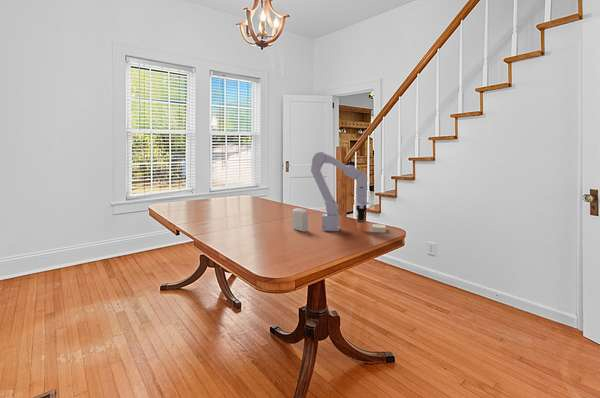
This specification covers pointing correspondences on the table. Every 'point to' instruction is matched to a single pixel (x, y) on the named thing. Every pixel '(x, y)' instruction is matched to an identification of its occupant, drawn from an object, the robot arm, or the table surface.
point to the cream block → (378, 228)
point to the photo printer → (300, 219)
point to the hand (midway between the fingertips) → (361, 218)
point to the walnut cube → (361, 220)
